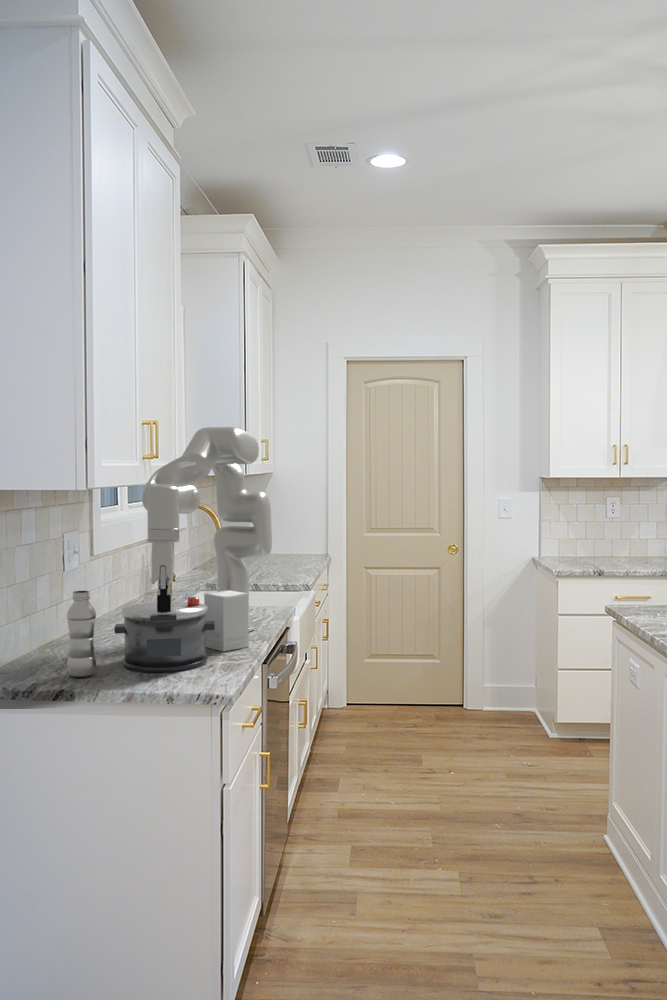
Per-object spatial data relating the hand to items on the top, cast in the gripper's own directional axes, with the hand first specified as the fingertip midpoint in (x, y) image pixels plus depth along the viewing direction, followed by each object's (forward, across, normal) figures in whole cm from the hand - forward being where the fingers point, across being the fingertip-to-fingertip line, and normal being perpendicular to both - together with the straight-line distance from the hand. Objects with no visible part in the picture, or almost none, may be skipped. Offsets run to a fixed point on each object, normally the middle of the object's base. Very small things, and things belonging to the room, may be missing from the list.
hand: (164, 611), depth 192 cm
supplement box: (+14, -22, +16) cm, 31 cm away
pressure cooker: (+14, -7, 0) cm, 16 cm away
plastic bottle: (+14, +3, -19) cm, 24 cm away
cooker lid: (+2, -6, 0) cm, 6 cm away
